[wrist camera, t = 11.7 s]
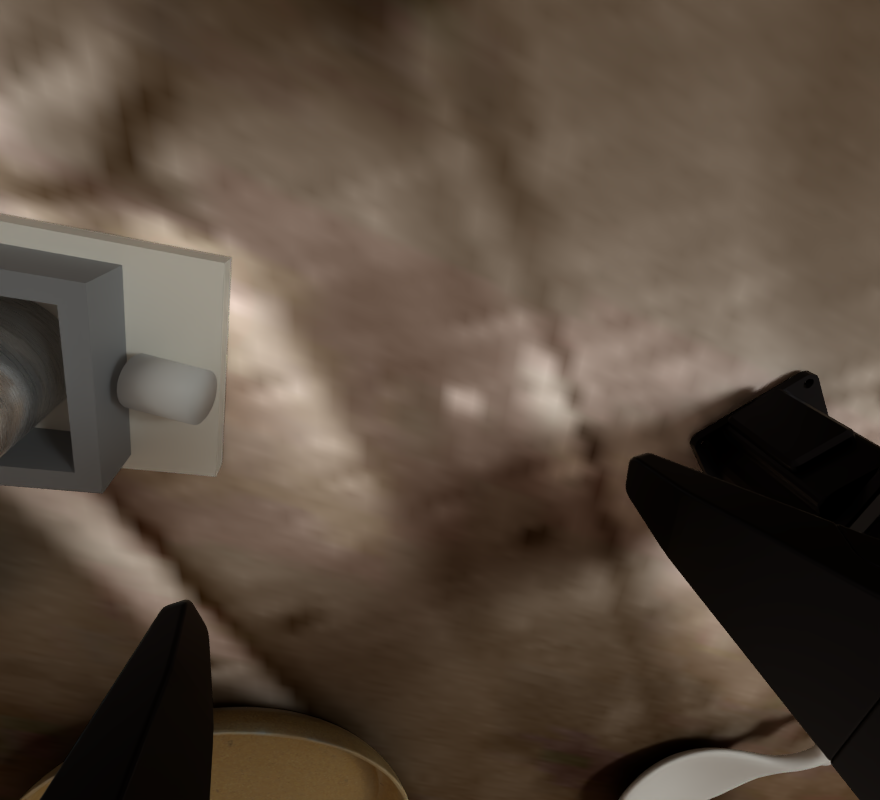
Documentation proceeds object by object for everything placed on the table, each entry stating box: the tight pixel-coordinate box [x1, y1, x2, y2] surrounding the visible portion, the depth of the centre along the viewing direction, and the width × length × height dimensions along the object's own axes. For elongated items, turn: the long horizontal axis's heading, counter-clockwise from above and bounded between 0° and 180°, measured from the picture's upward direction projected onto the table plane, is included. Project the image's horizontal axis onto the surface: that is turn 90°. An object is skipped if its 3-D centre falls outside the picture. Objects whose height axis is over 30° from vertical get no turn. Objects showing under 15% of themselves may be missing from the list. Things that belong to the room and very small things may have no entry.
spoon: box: [618, 744, 831, 800], centre depth 38 cm, size 9×32×4 cm, turn 115°
